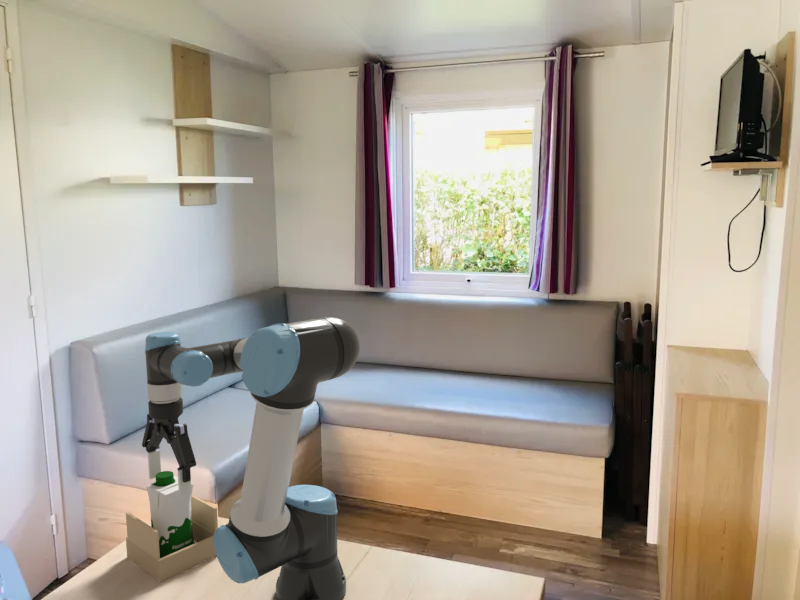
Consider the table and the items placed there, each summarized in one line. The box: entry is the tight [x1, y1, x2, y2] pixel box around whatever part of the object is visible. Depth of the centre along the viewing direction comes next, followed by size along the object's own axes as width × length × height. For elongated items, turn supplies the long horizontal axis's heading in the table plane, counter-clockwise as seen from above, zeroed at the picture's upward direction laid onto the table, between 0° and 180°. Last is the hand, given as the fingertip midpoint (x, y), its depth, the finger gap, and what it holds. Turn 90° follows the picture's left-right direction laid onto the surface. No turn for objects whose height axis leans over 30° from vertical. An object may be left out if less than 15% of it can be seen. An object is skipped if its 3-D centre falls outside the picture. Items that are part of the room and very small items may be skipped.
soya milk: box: [146, 470, 195, 558], centre depth 155 cm, size 9×9×20 cm
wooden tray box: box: [125, 494, 219, 582], centre depth 155 cm, size 16×16×12 cm
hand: (169, 485), depth 154 cm, fingers open, 13 cm apart
